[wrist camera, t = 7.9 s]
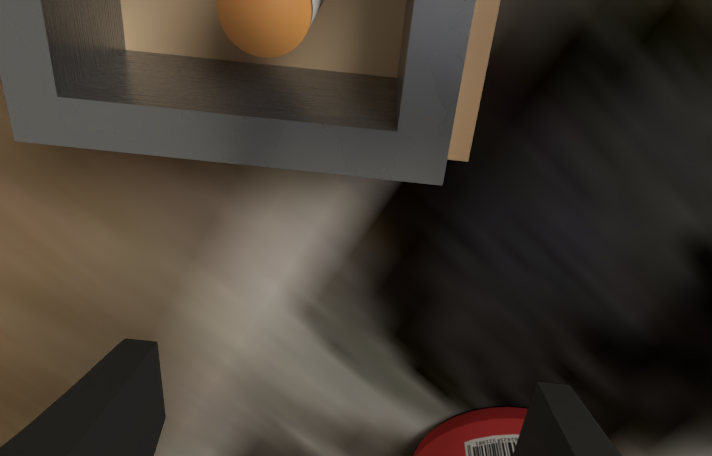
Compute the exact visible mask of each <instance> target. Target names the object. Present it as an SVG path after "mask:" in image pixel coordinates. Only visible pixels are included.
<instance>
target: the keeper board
mask: <svg viewBox="0 0 712 456" xmlns="http://www.w3.org/2000/svg"><path fill="white" fill-rule="evenodd" d="M120 1H121V10H122V19H123V28H124V37H125V47H126V50H132V51H142V52H152V53H162V54H171V55H181V56H191V57H200V58H210V59H220V60H230V61H239V62H249V63H259V64H269V65H278V66H288V67H298V68H308V69H317V70H327V71H337V72H347V73H356V74H366V75H376V76H386V77H395V78H397V74H398V66H399V57H400V49H401V41H402V33H403V25H404V17H405V9H406V1H407V0H120ZM499 4H500V0H476V2H475V8H474V13H473V19H472V24H471V30H470V35H469V41H468V46H467V52H466V58H465V63H464V69H463V74H462V80H461V85H460V91H459V96H458V102H457V108H456V113H455V119H454V124H453V130H452V135H451V141H450V146H449V152H448V158H447V159H448V160H458V161H467V162H468V159H469V154H470V149H471V144H472V139H473V134H474V129H475V124H476V119H477V114H478V109H479V104H480V99H481V94H482V89H483V84H484V79H485V74H486V69H487V64H488V59H489V54H490V49H491V44H492V39H493V34H494V29H495V24H496V19H497V14H498V9H499Z"/></svg>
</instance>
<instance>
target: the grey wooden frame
mask: <svg viewBox="0 0 712 456" xmlns="http://www.w3.org/2000/svg"><path fill="white" fill-rule="evenodd" d="M475 2H476V0H407V1H406V9H405V17H404V25H403V33H402V41H401V49H400V57H399V66H398V74H397V78H395V77H386V76H376V75H366V74H356V73H347V72H337V71H327V70H317V69H308V68H298V67H288V66H278V65H269V64H259V63H249V62H239V61H230V60H220V59H210V58H200V57H191V56H181V55H171V54H162V53H152V52H142V51H132V50H126V47H125V37H124V28H123V19H122V10H121V1H120V0H0V77H1V81H2V86H3V90H4V95H5V99H6V104H7V108H8V113H9V118H10V122H11V127H12V131H13V136H14V140H15V141H17V142H27V143H36V144H46V145H56V146H65V147H75V148H85V149H94V150H104V151H114V152H123V153H133V154H143V155H153V156H162V157H172V158H182V159H191V160H201V161H211V162H220V163H230V164H240V165H249V166H259V167H269V168H278V169H288V170H298V171H308V172H317V173H327V174H337V175H346V176H356V177H366V178H375V179H385V180H395V181H404V182H414V183H424V184H433V185H443V180H444V174H445V169H446V163H447V158H448V152H449V146H450V141H451V135H452V130H453V124H454V119H455V113H456V108H457V102H458V96H459V91H460V85H461V80H462V74H463V69H464V63H465V58H466V52H467V46H468V41H469V35H470V30H471V24H472V19H473V13H474V8H475Z"/></svg>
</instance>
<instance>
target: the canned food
mask: <svg viewBox="0 0 712 456" xmlns="http://www.w3.org/2000/svg"><path fill="white" fill-rule="evenodd" d="M527 410H528V409H526V408H516V407H495V408H486V409H480V410H475V411H471V412H468V413H465V414H462V415H459V416H456V417H453V418H452V419H450V420H448V421H446V422H444V423H442V424H440V425H439V426H437V427H436V428H435V429H433V430H432V431H431V432H429V433H428V434H427V435H426V436H425V438H424V439H423V440H422V441H421V442H420V443H419V445H418V447H417V449H416V451H415V452H414V455H413V456H513V452H514V449H515V446H516V443H517V440H518V437H519V434H520V431H521V428H522V425H523V422H524V419H525V416H526V413H527Z"/></svg>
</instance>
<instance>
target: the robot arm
mask: <svg viewBox="0 0 712 456" xmlns="http://www.w3.org/2000/svg"><path fill="white" fill-rule="evenodd" d="M164 421H165V408H164V399H163V390H162V380H161V371H160V362H159V353H158V344H157V342H153V341H144V340H134V339H124V340H123V341H122V342H120V343H119V344H118V345H117V346H116V347H115V348H114V349H113V350H111V351H110V352H109V353H108V354H107V355H106V356H105V357H104V358H103V359H102V360H101V361H100V362H99V363H97V364H96V365H95V366H94V367H93V368H92V369H91V370H90V371H89V372H88V373H87V374H86V375H84V376H83V377H82V378H81V379H80V380H79V381H78V382H77V383H76V384H75V385H73V386H72V387H71V388H70V389H69V390H68V391H67V392H66V393H65V394H63V395H62V396H61V397H60V398H59V399H58V400H57V401H55V402H54V403H53V404H52V405H51V406H50V407H49V408H47V409H46V410H45V411H44V412H43V413H42V414H41V415H39V416H38V417H37V418H36V419H35V420H34V421H32V422H31V423H30V424H29V425H28V426H27V427H25V428H24V429H23V430H22V431H20V432H19V433H18V434H17V435H15V436H14V437H13V438H12V439H10V440H9V441H8V442H7V443H5V444H4V445H3V446H2V447H0V456H154V453H155V450H156V447H157V444H158V440H159V437H160V434H161V430H162V427H163V424H164ZM513 456H621V455H620V453H619V452H618V451H617V449H616V448H615V447H614V445H613V444H612V442H611V441H610V440H609V438H608V437H607V436H606V434H605V433H604V432H603V430H602V429H601V427H600V426H599V425H598V423H597V422H596V421H595V419H594V418H593V416H592V415H591V414H590V412H589V411H588V409H587V408H586V407H585V405H584V404H583V403H582V401H581V400H580V398H579V397H578V396H577V394H576V393H575V392H574V390H573V389H572V388H571V386H570V385H565V384H555V383H546V382H537V383H536V386H535V389H534V392H533V395H532V398H531V401H530V404H529V407H528V410H527V413H526V416H525V419H524V422H523V425H522V428H521V431H520V434H519V437H518V440H517V443H516V446H515V449H514V452H513Z"/></svg>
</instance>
